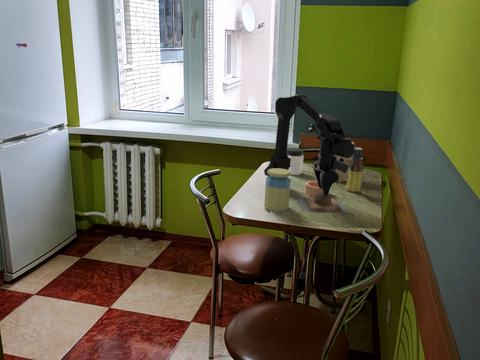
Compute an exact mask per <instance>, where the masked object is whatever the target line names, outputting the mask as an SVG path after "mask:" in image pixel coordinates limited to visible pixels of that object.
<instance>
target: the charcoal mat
mask: <svg viewBox="0 0 480 360" xmlns="http://www.w3.org/2000/svg"><path fill="white" fill-rule="evenodd" d="M335 200H336V199H335ZM296 202H297V204H298V206H299V208H300V211H301V212H305V213H306V212H308V213H309V212H311V213H337V214H338V213H339V214H341V213H342V214H350V211H349V210H348V209H347V207H346V205H345V204H344V203H343V202H342V201H341V200H340V199H339V200H336V202H337V203H338V205H339V206H340V207H341V212H336V211H309V209H308V207H307V205H306V203H305V201H304V198H303V199H302V198H296Z"/></svg>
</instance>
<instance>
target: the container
mask: <svg viewBox="0 0 480 360" xmlns="http://www.w3.org/2000/svg"><path fill="white" fill-rule="evenodd" d="M352 143H353V145H354V146H355V142H353V141H352ZM335 156H336V157H337V159H338V158H339V157H341V156H337V155H335ZM352 157H353V155H352ZM352 157H351V158H344V157H341V158H343V159H344V162H346V163H347V164H348V165H349V164H350V162H351V159H352ZM331 171H333V170H331ZM335 172H336V173H337V174H338V175H339V181H337V182H336V183H345V182H347V175H348V170H347V172H346V173H343V172H342V171H340V170H337V169H336V171H335Z"/></svg>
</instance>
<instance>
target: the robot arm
mask: <svg viewBox="0 0 480 360" xmlns="http://www.w3.org/2000/svg"><path fill="white" fill-rule="evenodd" d="M274 106H275V107H274V110H275V114H276V117H277V118H278V119H277V128H276V129H277V130H276V137H275V146H274V152H273V154H272V156H271V157H270V158H269V159H270V160H269V164H268V166H266V167H265V169H264V170H263V172H264V176H267V177H269V176H270V175H269V174H267V170H269V169H272V168H281V169H286V170H289V167H290V162H291V158H289V157H288V155H287V148H288V144H289V135H290V128H291V127H290V126H291V119H292V118H293V116H294V115H295V113H296V110H297V108H299V109H301V111H302V112H304V114H306V115H307V116H308V117H309V118H310V119H311V120H312V121H313V122H314V123H315V127H316V129H317V130H318V131H319V132H320V134H318V135H317V136H315V137H316V139H318V140H320V145H319V153H317V157H318V160H315V161H313V162H312V169H313V172H314V175H315V180H316V181H317V182H318V186H319V188H320V189H323V193H324V196H327V195H328V193H329V190H330V191H331V188H332V186H333V184H334V183H338V182H337V181H339V175H338V174H337V173H336V172H335V171H336V169H337V170H340V171H342V172H343V173H346V172H347V170H348V168H349V165H348V164H347V163H346V162H344V159H343V158H341V157H344V158H351V157H353V156H352V155H353V154H354V151H355V148H356V147H355V144H354V145H353V143H352V142H353V140H352V139H351V138H346V135H345V132H344V129H343V127H342V123H341V121H340V120H339V119H338V118H336V117H335V116H333V115H330V114H327V113H325V112H324V111H323V110H322V109H321V108H320V107H318V105H316V104H315V103H314V102H313V101H312V100H311V99H309V98H308V96H307V95H306V94H295V95H293V96H287V97H286V96H285V97H284V96H281V97H277V99H276V100H275V105H274ZM335 155H337V156H341V157H339V158H338V159H337V157H336V156H335ZM331 170H333V171H331Z"/></svg>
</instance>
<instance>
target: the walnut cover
mask: <svg viewBox="0 0 480 360" xmlns="http://www.w3.org/2000/svg"><path fill="white" fill-rule="evenodd" d="M303 199H304V201H305V203H306V205H307V207H308V209H309V211H336V212H341V207H340V206H339V205H338V203H337V202H336V199H335V198H333V197H332V194H331V193H328V195H327V196H324V193H315V194H314V197H311V196H308V197H307V196H304V197H303Z"/></svg>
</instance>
